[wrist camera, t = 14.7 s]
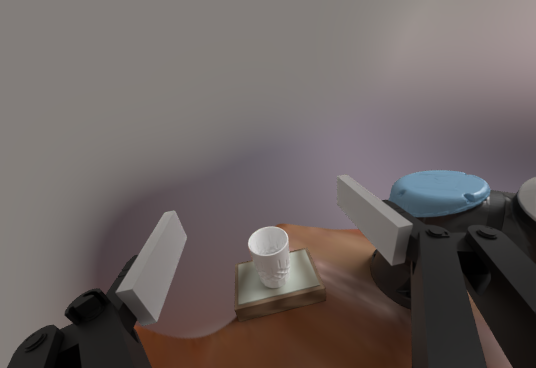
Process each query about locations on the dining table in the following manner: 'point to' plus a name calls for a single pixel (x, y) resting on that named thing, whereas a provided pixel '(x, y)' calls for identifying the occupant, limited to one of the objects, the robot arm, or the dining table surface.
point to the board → (277, 299)
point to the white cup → (271, 256)
